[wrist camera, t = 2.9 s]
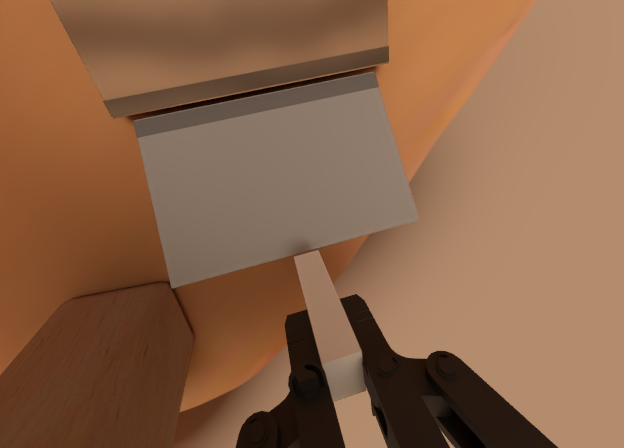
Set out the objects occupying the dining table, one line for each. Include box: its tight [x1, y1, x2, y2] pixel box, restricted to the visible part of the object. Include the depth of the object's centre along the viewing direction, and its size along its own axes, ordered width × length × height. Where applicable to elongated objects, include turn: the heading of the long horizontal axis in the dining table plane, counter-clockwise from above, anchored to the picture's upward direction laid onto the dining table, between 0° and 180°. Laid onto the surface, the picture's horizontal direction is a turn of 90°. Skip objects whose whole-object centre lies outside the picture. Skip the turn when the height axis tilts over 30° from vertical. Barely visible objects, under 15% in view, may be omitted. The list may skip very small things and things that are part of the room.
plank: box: [133, 72, 420, 289], centre depth 19 cm, size 12×18×2 cm
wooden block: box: [0, 282, 194, 448], centre depth 19 cm, size 10×10×20 cm
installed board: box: [50, 0, 389, 119], centre depth 17 cm, size 8×20×2 cm, turn 100°
